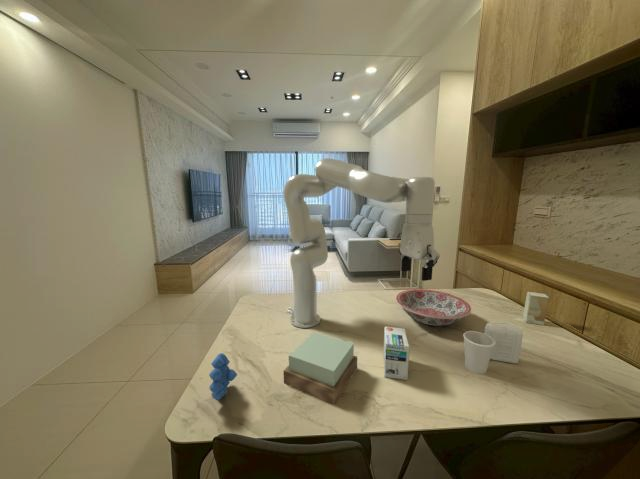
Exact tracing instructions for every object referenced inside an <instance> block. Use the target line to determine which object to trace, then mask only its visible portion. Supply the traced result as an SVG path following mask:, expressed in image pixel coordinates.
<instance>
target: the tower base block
mask: <svg viewBox="0 0 640 479" xmlns="http://www.w3.org/2000/svg"><path fill="white" fill-rule="evenodd" d="M357 370H358V356H357V355H354V356H353V359H352V360H351V362H350V363H349V365H348V366H347V368H346V369H345V371H344V372H343V374H342V375H341V377H340V378H339V380H338V381H337V383H336V384H335V386H334V387H333V386H330V385H328V384H325V383H322V382H320V381H317V380H315V379H312V378H309V377H307V376H304V375H302V374H299V373H296V372H294V371H291V370H289V365H287V367H286V368H284V369H283V383H284V384H285V385H288V386H290V387H292V388H294V389H297V390H299V391H302V392H305V393H306V394H308V395H310V396H313V397H315V398H318V399H320V400H322V401H325V402H326V403H330V404H333V405H336V403H337V401H338V400H339V398H340V396H341V395H342V394H343V392H344V390H345V389H346V387H347V385H348V384H349V382H350V381H351V379H352V377H353V376H354V374H355V373H356V371H357Z"/></svg>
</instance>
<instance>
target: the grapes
mask: <svg viewBox="0 0 640 479" xmlns="http://www.w3.org/2000/svg"><path fill="white" fill-rule="evenodd" d="M230 362H231V361H230V360H229V358H228V357H227V356H226V354H225V353H222V352H221V353H218V354H217V356H216V357H215V358H214V359H213V361H212V362H211V366H212V367H213V370H211V371H210V373H209V375H208V376H209V378H210V379H211V380H212V383H211V384H210V385H209V387H208V389H209V390H210V391H211V393H210V394H211V396H212V398H213V399H214V400H215V401H219V400H220V399H222V398H223V397H225V396H226V394H227V393H228V392H229V391H228V389H227V387H228V386H229V384H230V383H231V382H232V381H233V380H235V378H236V377H237V376H238V373H237V372H236V370H234V369H231V368H230V367H229V364H230Z"/></svg>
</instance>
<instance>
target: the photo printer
mask: <svg viewBox="0 0 640 479" xmlns="http://www.w3.org/2000/svg"><path fill="white" fill-rule="evenodd" d="M483 333H484V334H487V335H489V336H490V337H492V338H493V339H494V340H495V345H494V347H493V350H492V354H491V357H490V360H492V361H499V362H505V363H510V364H519V362H520V354H521V348H522V343H523V337H524V333H523V329H522V328H521V327H520V326H518V325H516V324H513V323H509V322H502V321H492V322H491V321H490V322H486V323H485V326H484V332H483Z"/></svg>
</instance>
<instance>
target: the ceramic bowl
mask: <svg viewBox="0 0 640 479" xmlns="http://www.w3.org/2000/svg"><path fill="white" fill-rule="evenodd" d="M395 301H396V303H397V304H398V305H399V306H400V307H401V308H402V309H403V311H404V312H405V313H406V314H407V315H408V316H409V317H410V318H412V319H413V320H416V321H417V322H419V323H421V324H425V325H430V326H437V327H439V326H440V327H441V326H443V327H444V326H449V325H452V324H455V323H457V322H458V321H460V320H462V319H463V318H465V317H467V316H469V315H470V313H471V312H472V307H471V305H470V304H469V302H467V301H466V300H465V299H462V298H461V297H458V296H457V295H454V294H451V293H447V292H443V291H439V290H435V289H433V290H432V289H424V288H421V289H420V288H419V289H417V288H416V289H415V288H414V289H407V290H403V291H401V292H399V293H397V295H396V297H395Z"/></svg>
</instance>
